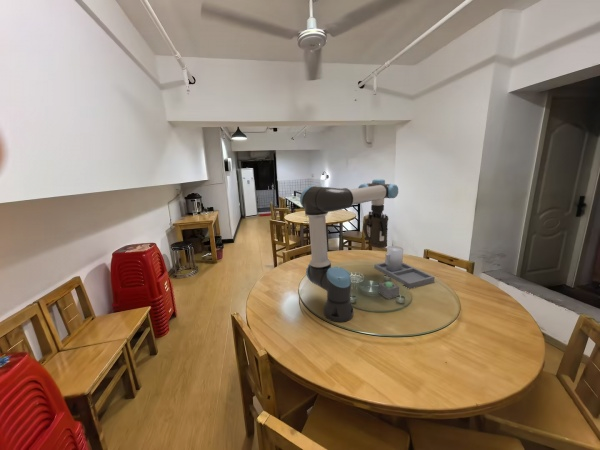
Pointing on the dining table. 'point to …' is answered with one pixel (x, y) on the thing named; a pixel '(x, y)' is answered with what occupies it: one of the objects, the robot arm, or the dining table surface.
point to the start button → (389, 284)
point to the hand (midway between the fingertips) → (376, 238)
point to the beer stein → (375, 232)
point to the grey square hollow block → (388, 290)
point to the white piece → (394, 258)
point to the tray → (407, 275)
